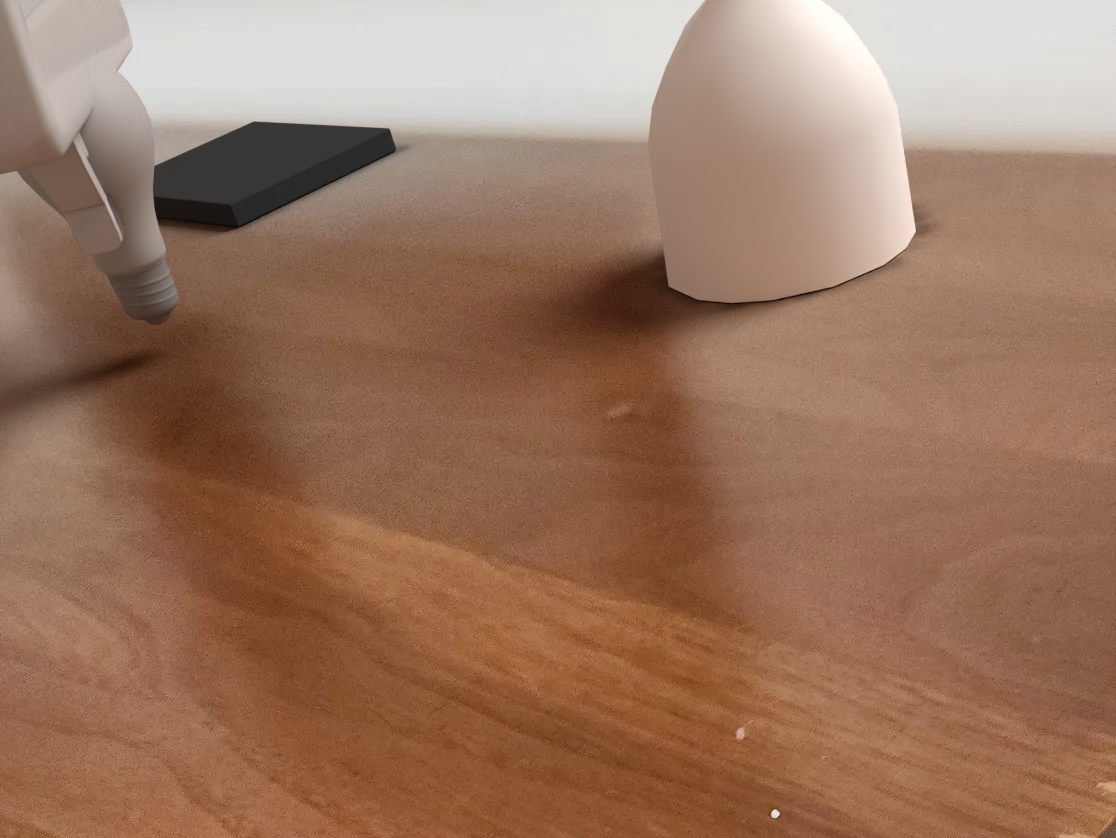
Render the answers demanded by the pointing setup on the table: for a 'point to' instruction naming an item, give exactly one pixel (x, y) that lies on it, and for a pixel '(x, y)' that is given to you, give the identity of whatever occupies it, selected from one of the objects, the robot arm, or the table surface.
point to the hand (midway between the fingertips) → (118, 225)
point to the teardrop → (775, 154)
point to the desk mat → (261, 169)
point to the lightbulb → (126, 195)
